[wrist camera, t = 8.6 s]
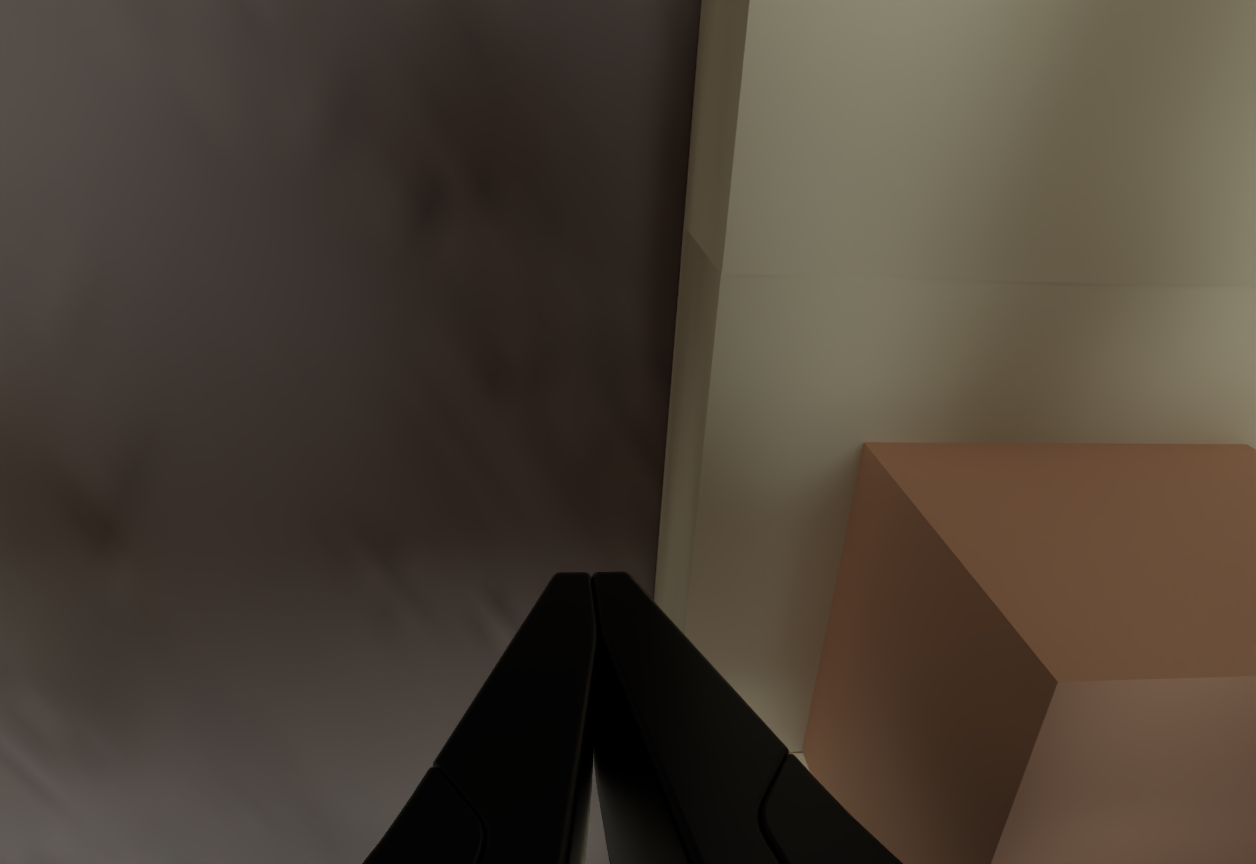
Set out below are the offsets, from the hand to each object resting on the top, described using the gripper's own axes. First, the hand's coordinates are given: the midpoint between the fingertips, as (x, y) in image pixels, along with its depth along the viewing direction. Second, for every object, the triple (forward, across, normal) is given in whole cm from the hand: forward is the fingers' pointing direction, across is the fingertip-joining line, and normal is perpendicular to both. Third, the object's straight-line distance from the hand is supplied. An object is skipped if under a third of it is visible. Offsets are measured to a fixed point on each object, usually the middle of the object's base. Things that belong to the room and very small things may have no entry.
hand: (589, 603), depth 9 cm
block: (+1, -6, +1) cm, 6 cm away
